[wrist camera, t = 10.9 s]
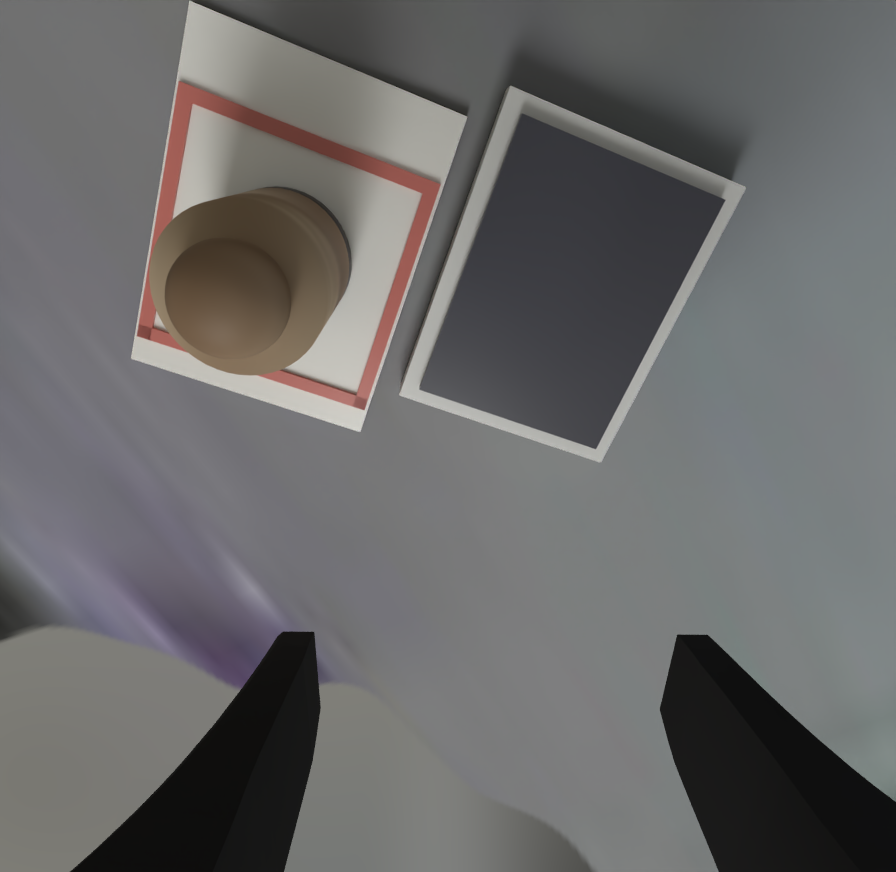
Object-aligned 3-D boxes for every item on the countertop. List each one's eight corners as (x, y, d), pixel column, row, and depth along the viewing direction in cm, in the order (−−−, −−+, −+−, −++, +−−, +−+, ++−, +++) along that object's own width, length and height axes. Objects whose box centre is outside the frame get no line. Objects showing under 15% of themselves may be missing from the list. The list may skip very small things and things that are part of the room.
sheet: (467, 117, 17) (467, 116, 17) (360, 429, 21) (359, 433, 21) (192, 2, 16) (188, -1, 16) (133, 356, 20) (129, 359, 19)
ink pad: (730, 185, 18) (751, 187, 17) (594, 449, 21) (602, 467, 20) (506, 88, 17) (511, 84, 16) (400, 384, 20) (398, 398, 19)
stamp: (364, 209, 18) (328, 241, 12) (337, 339, 19) (293, 426, 13) (223, 168, 17) (111, 181, 11) (207, 306, 19) (102, 380, 13)
